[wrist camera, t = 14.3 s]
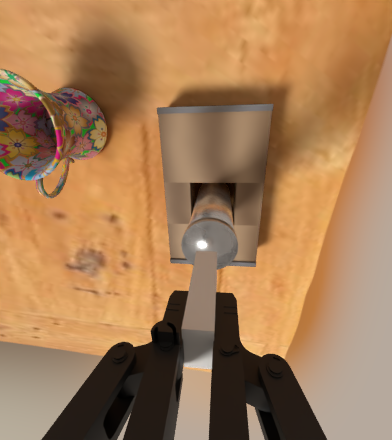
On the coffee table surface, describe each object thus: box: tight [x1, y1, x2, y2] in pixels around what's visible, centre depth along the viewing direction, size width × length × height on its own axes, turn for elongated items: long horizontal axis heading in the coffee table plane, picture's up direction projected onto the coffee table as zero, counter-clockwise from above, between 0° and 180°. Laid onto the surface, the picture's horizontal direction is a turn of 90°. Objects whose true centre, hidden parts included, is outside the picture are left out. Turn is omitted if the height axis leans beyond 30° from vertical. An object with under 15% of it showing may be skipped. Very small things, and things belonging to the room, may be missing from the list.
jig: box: [157, 104, 273, 267], centre depth 29 cm, size 12×20×4 cm, turn 1°
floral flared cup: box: [0, 69, 107, 198], centre depth 25 cm, size 12×9×11 cm
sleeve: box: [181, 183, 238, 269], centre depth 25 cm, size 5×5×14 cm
